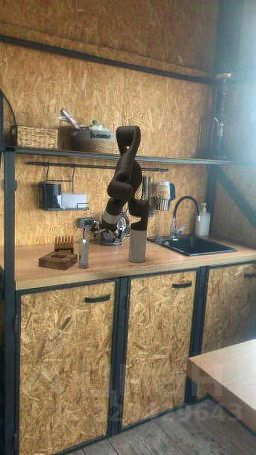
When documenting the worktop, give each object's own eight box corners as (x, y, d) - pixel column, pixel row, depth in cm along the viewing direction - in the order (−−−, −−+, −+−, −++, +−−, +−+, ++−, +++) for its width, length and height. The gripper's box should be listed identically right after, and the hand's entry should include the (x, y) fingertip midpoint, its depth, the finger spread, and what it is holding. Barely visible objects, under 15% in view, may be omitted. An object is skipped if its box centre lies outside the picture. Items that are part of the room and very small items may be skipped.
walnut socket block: (52, 258, 194) (52, 251, 193) (77, 261, 191) (77, 254, 191) (38, 266, 179) (38, 258, 178) (65, 270, 176) (65, 262, 175)
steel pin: (80, 265, 185) (81, 238, 183) (89, 266, 184) (90, 239, 182) (77, 267, 181) (78, 239, 178) (86, 269, 180) (87, 240, 177)
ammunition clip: (72, 256, 202) (73, 234, 200) (73, 256, 201) (74, 235, 198) (53, 257, 198) (54, 235, 195) (54, 258, 196) (54, 235, 194)
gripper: (127, 215, 167) (119, 237, 179) (97, 206, 166) (90, 229, 178) (125, 227, 162) (117, 249, 174) (94, 218, 161) (87, 241, 173)
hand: (103, 239), depth 176 cm, fingers open, 8 cm apart
